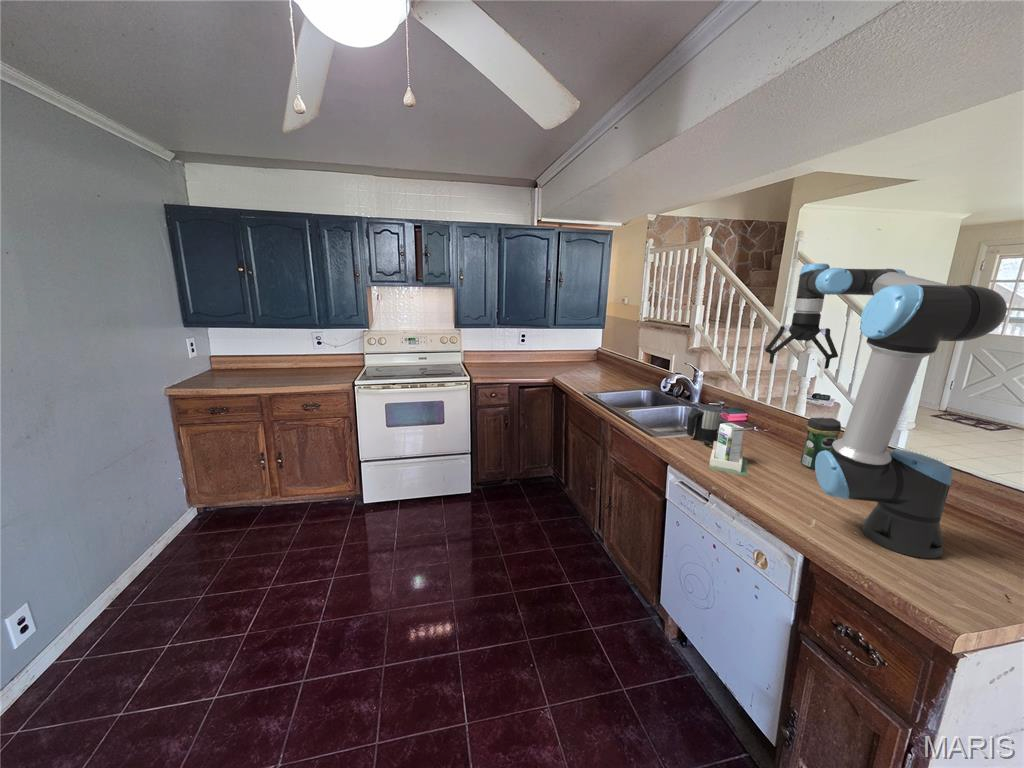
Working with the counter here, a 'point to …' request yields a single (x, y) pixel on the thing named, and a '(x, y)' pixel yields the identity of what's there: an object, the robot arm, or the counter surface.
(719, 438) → the syrup box
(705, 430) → the milk frother
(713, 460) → the cream hollow box
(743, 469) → the board
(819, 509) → the counter surface
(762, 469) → the counter surface
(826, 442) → the coffee jar
